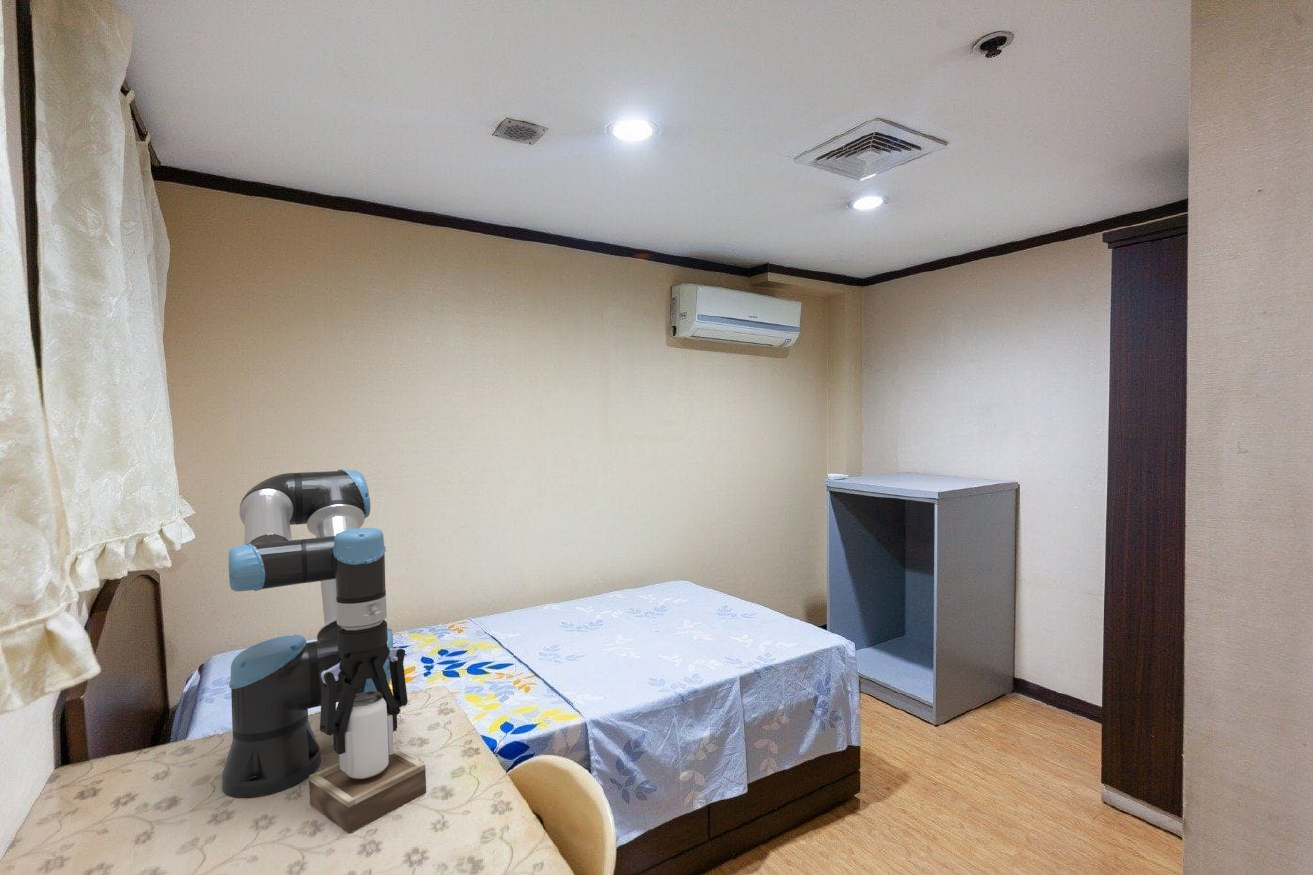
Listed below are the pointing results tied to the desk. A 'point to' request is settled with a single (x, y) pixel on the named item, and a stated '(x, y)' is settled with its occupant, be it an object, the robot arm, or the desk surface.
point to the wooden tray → (366, 791)
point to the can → (368, 735)
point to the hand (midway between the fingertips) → (367, 760)
